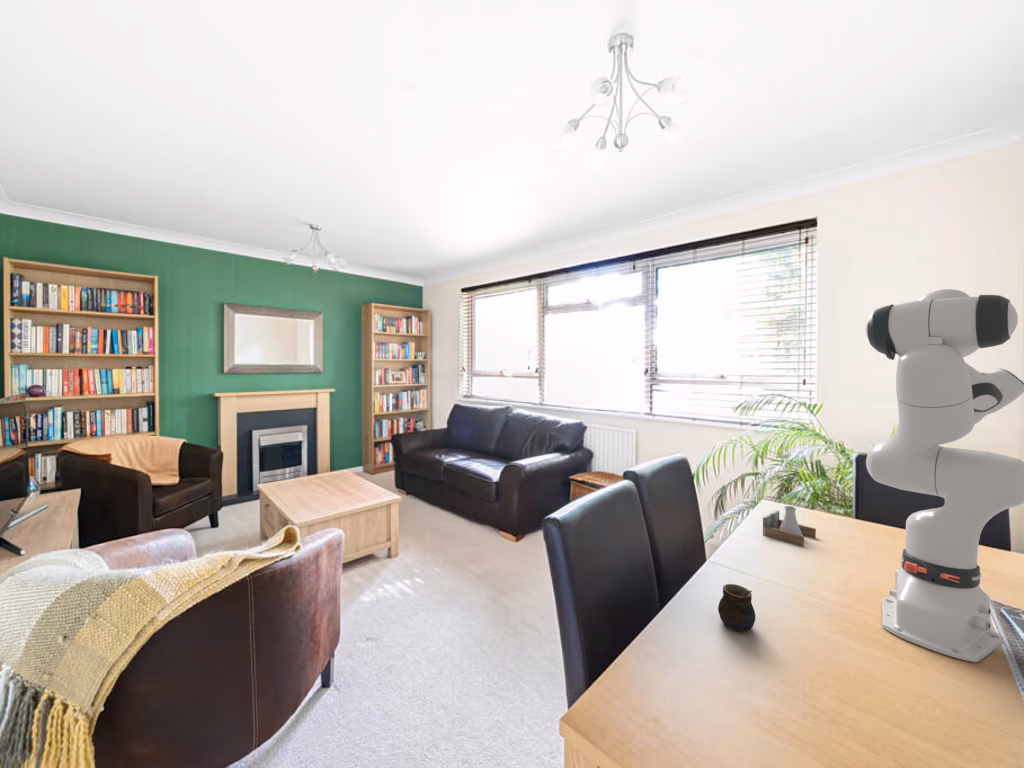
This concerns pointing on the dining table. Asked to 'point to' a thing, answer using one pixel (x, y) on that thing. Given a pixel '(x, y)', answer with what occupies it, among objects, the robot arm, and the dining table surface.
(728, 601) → the mate gourd
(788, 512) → the flask
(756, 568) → the dining table surface
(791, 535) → the slot bay
